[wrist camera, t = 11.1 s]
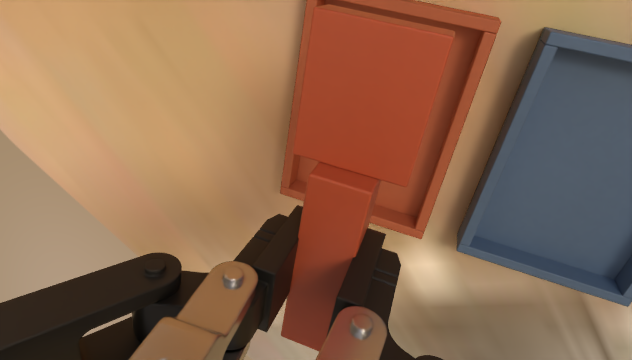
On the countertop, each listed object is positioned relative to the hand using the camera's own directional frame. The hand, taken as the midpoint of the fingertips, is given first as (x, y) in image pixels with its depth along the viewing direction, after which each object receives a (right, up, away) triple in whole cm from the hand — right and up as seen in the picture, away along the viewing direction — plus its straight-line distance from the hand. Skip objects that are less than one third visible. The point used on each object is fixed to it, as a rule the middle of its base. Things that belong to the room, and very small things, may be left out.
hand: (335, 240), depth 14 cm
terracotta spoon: (0, +2, -1) cm, 2 cm away
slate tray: (+14, +3, +9) cm, 17 cm away
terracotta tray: (+3, +6, +11) cm, 13 cm away
